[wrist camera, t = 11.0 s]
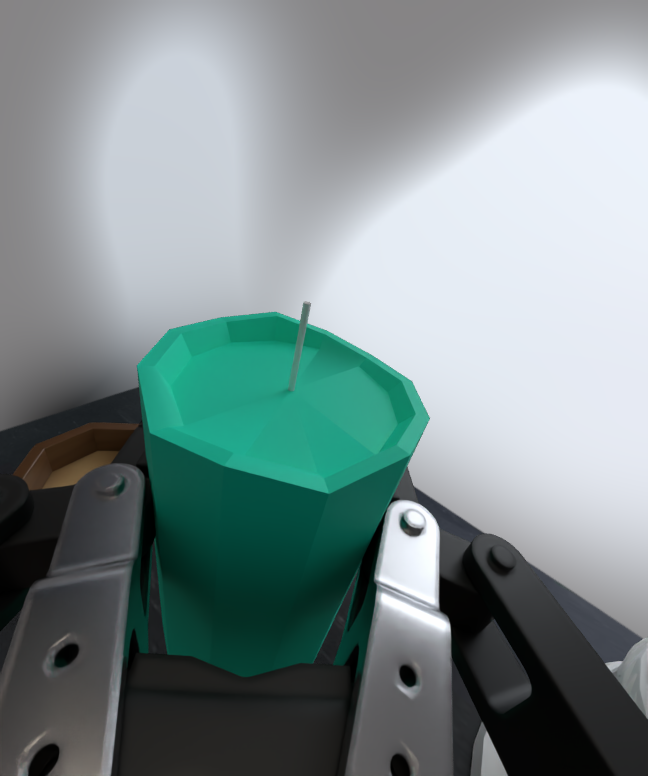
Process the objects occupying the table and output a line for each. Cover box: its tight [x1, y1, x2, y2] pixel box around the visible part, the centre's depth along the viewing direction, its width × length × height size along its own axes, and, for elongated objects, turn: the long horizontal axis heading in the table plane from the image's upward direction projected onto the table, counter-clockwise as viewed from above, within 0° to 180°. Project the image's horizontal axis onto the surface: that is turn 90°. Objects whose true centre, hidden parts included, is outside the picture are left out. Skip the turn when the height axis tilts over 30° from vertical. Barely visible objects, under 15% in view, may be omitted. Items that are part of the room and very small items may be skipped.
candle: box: [137, 302, 430, 677], centre depth 9 cm, size 6×6×12 cm
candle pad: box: [13, 422, 139, 490], centre depth 25 cm, size 10×10×4 cm
